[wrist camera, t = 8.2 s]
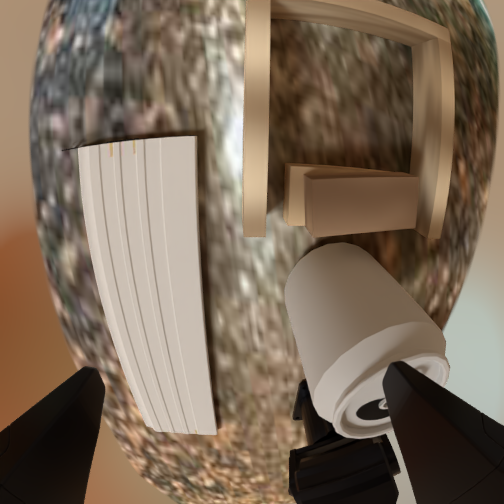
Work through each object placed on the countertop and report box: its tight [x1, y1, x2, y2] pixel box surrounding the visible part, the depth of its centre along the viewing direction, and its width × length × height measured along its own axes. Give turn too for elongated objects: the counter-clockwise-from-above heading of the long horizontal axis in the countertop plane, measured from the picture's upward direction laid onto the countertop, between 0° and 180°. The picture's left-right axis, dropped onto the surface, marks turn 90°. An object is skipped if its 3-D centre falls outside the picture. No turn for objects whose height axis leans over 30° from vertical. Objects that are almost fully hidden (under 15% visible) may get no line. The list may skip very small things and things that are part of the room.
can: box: [284, 242, 450, 439], centre depth 16 cm, size 8×8×12 cm
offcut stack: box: [283, 163, 419, 238], centre depth 17 cm, size 4×8×4 cm, turn 89°
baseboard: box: [62, 135, 217, 435], centre depth 22 cm, size 30×3×10 cm
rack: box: [242, 0, 455, 239], centre depth 15 cm, size 15×13×4 cm
